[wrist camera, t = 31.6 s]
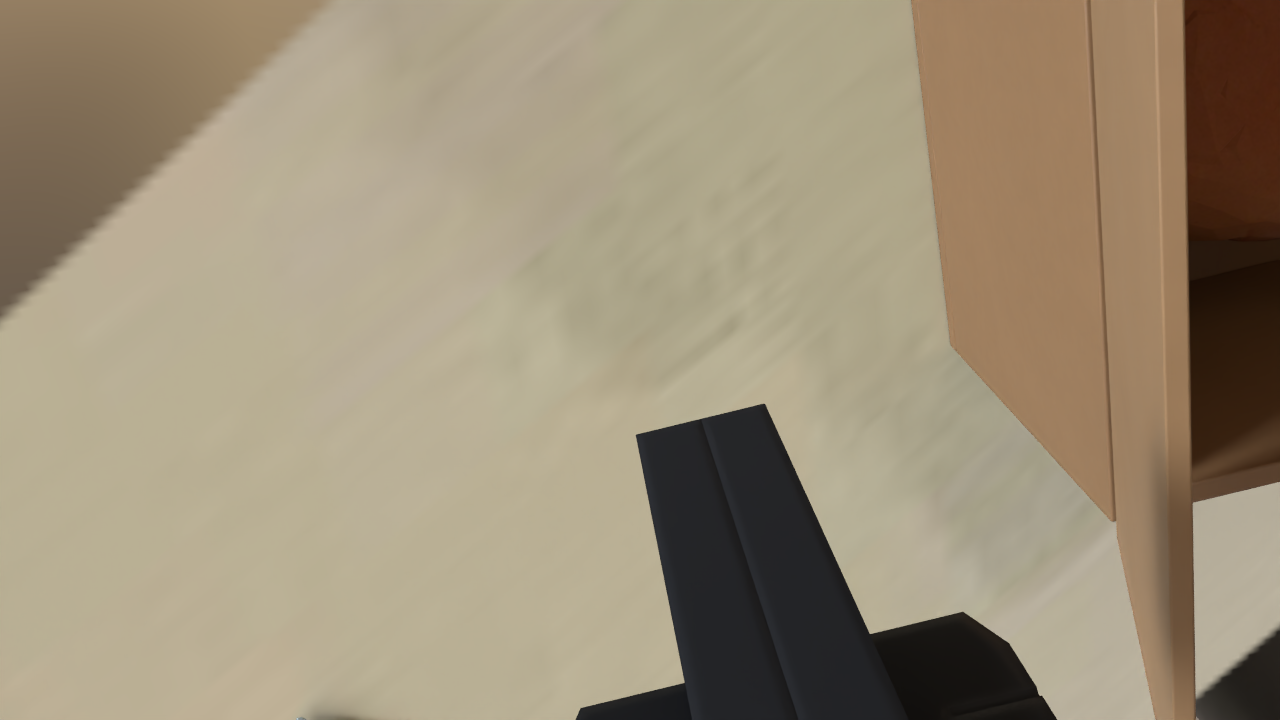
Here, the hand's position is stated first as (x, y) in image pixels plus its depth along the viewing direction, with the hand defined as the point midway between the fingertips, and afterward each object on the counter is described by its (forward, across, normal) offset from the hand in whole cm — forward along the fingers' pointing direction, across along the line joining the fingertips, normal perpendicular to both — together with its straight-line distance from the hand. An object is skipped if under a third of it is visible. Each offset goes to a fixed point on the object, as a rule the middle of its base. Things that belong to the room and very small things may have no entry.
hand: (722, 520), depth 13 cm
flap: (+4, +7, 0) cm, 8 cm away
